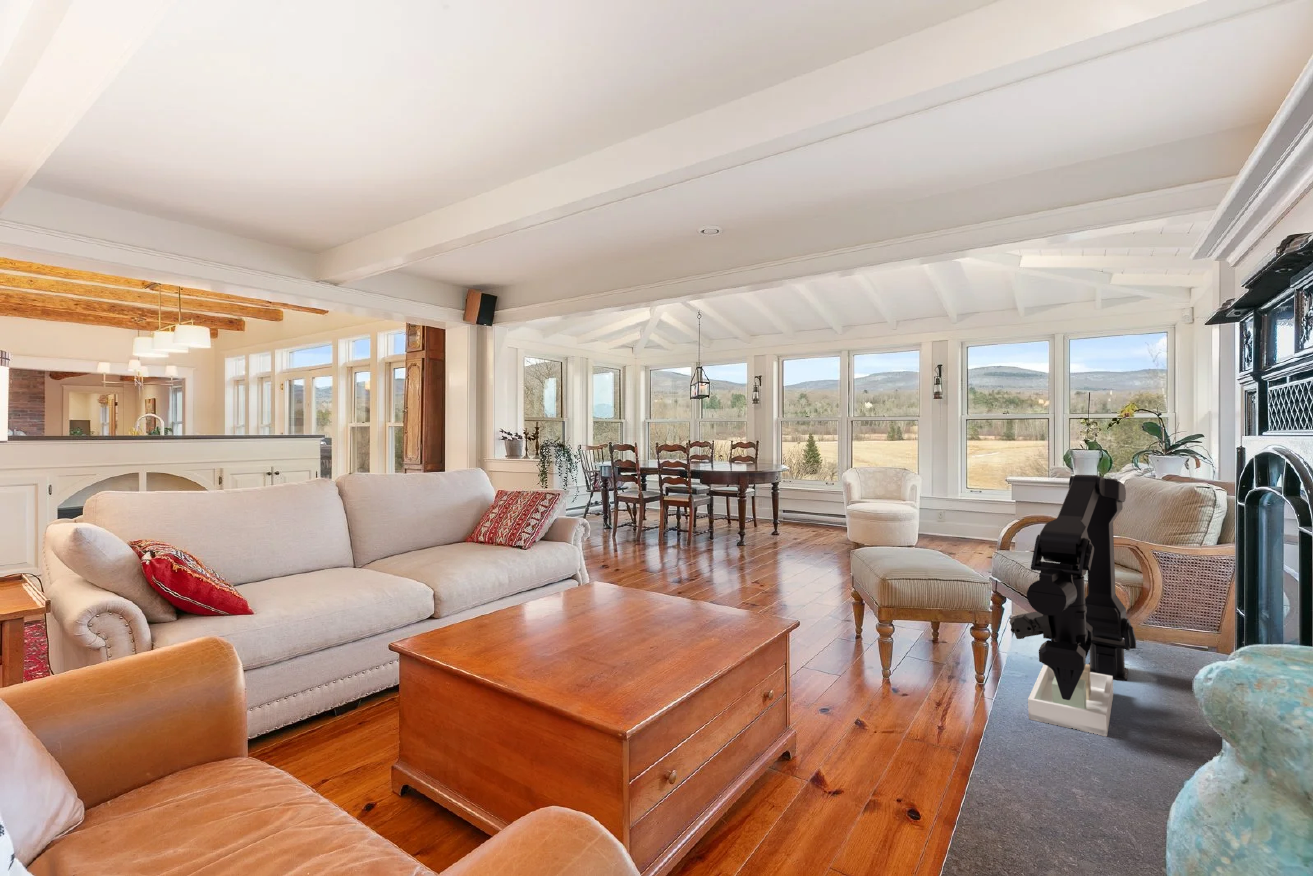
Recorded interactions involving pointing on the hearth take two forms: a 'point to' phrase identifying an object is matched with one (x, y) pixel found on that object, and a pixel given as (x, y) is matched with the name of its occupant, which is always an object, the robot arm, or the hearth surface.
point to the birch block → (1087, 680)
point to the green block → (1077, 696)
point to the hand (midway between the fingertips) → (1068, 690)
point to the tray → (1069, 716)
